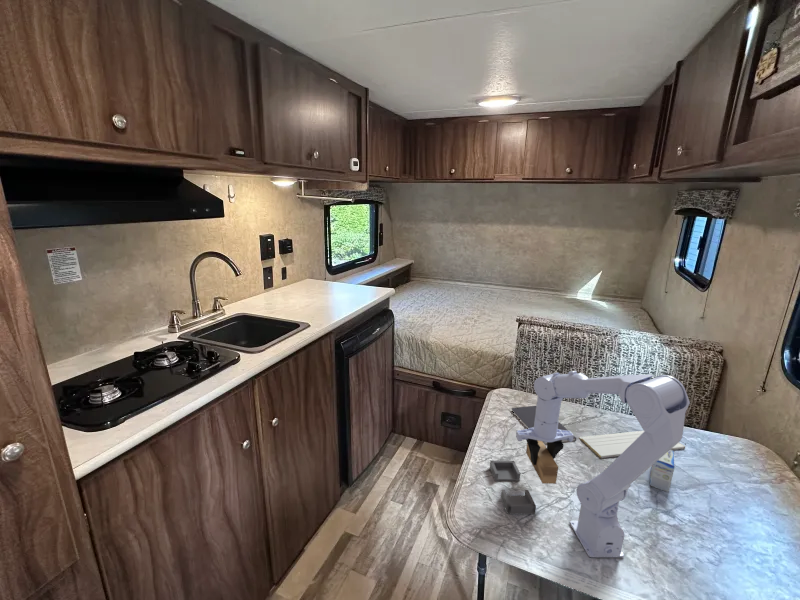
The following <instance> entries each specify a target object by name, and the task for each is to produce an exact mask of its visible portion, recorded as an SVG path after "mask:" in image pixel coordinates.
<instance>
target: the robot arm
mask: <svg viewBox="0 0 800 600" xmlns="http://www.w3.org/2000/svg"><path fill="white" fill-rule="evenodd" d="M654 376H655V375H654V374H650V373H649V374H626V375H611V376H601V377H588V376H587V375H586V374H585V373H583V372H579V373H578V372H577V370H570V371H568V372H567V373H560V372H554V373H551V374H547V375H543V376H540V377H537V378H536V379H535V380H534V383H533V389H534V391H535V394H536V395H537V398H536V399H537V400H536V405H535V406H536V414H535V422H534V427H533V428H529V429H527V428H525V429H519V430H516V431H515V433H516V434H515V437H516V439H517V442H522V441H523V440H526V444H527V443H528V446H529V450H530V455H531V461H532V463H533V465H536V463H537V456H538V452H539V450H540V446H539V444H538V441H543V442H547V444H546V448H547V450H548V451H549V453H550V454H551V456H552V458H553V459H554V460H555V458H556V456H557V455H558V454H559V453H560V452H561V451H562V450H563V449H564V443H563V442H562V440H568V441H567V442H574V441H573V436H575V435H574V433H573V432H572V431H571V430H568V431H565V430H560V429H558V422H559V419H560V413H561V412H560V411H561V405H562V401H563V400H564V399H586V398H588V397H589V396H590V395H591V394H604V395H605V394H606V395H618V397H619V398H620V401H621V402H622V403H623V404H626V403H627V404H628V407H629V408H630V410H631V412H632V413H633V415H634V416H635V418H636V420H637V422H638V423H639V425H640V427H641V428H642V431H644V432H643V433H642V434H641V435H640V436H639V437H638V438H637V439H636V440H635V441H634V442H633V443H632V444H631V445H630V446H629V447H628V448H627V449H626V450H625V451H624V452H623V453H622V454H621V455H620V456H617V458H615V459H614V461H612V462H611V463H610V464H609V465H608V466H607V467H606V468H605V469H604V470H603V471H602V472H600V473H599V474H597V475H596V476H594V477H593V478H591V479H590V480H587V481H585V482H582V483H579V484H578V485H577V487H576V496H577V498H578V501H579V503H580V508H579V513H578V519H577V520H576V519H575V520H572V519H571V520H569V525H570V526H571V528H572V529H573V531H574V533H575V535H576V537H577V539H578V540H579V541H580V543H581V545H582V547H583V549H584V551H585V552H586V554H587V556H588V557H589V558H624V557H625V553H623V550H622V549H623V544H624V539H625V532H624V530H623V528H622V526H621V523H620V521H619V518H618V509H619V508H618V507H619V503H620V502H621V501H623V500H625V499H626V498H627V494H628V490H629V489H630V488H631V487H632V484H633V483H634V482H635V481H636V480H637V479H638V478H639V477H641V475H643V474H644V473H646V471H647V470H648V469H651V466H652V465H653V464H654V463H655V462H657V461H658V460H659V459H660V458H661V457H662V456H664V455H665V454H666V453H667V452H668V451H669V450H670V449H672V448H673V447H674V446H675V445H676V444H677V443H679V442H680V443H681V441H682V438H683V434H684V426H685V419H686V418H685V417H686V412H687V409H688V408H689V406H690V404H691V401H690V399H689V396H688V393H687V391H686V388H685V386H684V385H683V383H682V382H681V381H679V379H677V378H676V377H673V376H671V375H668V374H661V375H657V376H655V377H654ZM652 377H653V378H652ZM651 378H652V379H651ZM559 423H560V422H559ZM537 440H538V441H537ZM531 461H530V462H531ZM532 463H531V464H532ZM533 465H532V466H533Z"/></svg>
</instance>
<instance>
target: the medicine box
mask: <svg viewBox="0 0 800 600" xmlns="http://www.w3.org/2000/svg"><path fill="white" fill-rule="evenodd" d="M675 468H676V467H675V450H669V451H668V452H667V453H666V454H665V455H664V456H662V457H661V458H660V459H659V460H658V461H657V462H655V463H654V464H653V465H652V466H651V467H650V475H649V486H651V487H653V488H656V489H658V490H661V491H664V492H667V493H669V492H670V487H671V485H672V480H673V475H674V471H675Z"/></svg>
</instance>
